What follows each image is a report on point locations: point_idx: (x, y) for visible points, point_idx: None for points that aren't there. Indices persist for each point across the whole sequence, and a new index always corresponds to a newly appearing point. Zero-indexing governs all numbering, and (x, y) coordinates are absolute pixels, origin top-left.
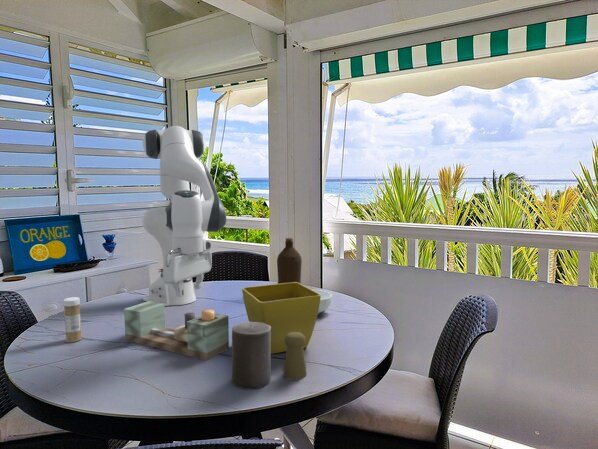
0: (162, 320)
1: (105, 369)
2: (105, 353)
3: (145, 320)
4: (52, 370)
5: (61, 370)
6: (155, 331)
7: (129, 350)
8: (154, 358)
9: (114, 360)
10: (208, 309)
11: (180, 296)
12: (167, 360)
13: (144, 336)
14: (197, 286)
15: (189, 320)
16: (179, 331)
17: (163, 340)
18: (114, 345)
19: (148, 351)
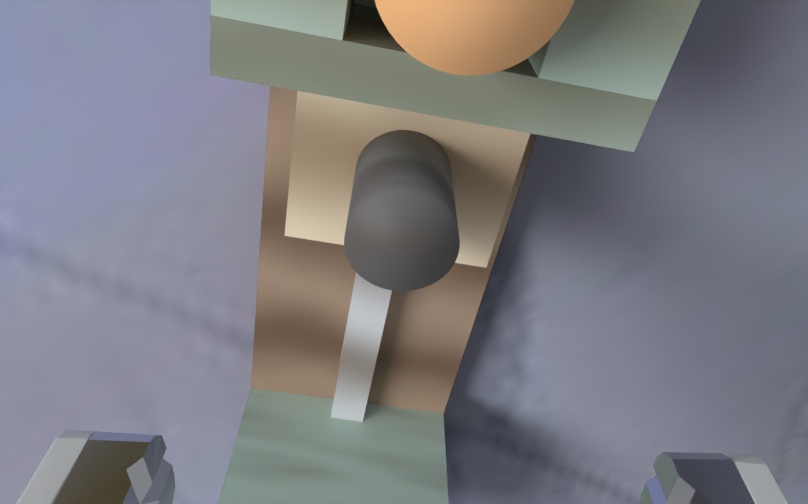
0: (261, 434)
1: (791, 350)
2: (596, 444)
3: (405, 490)
4: (793, 497)
5: (794, 476)
6: (368, 392)
7: (541, 384)
8: (631, 218)
9: (677, 374)
10: (384, 14)
11: (750, 455)
12: (654, 128)
13: (424, 406)
14: (139, 493)
15: (451, 195)
16: (500, 211)
17: (452, 291)
18: (496, 463)
19: (534, 301)
